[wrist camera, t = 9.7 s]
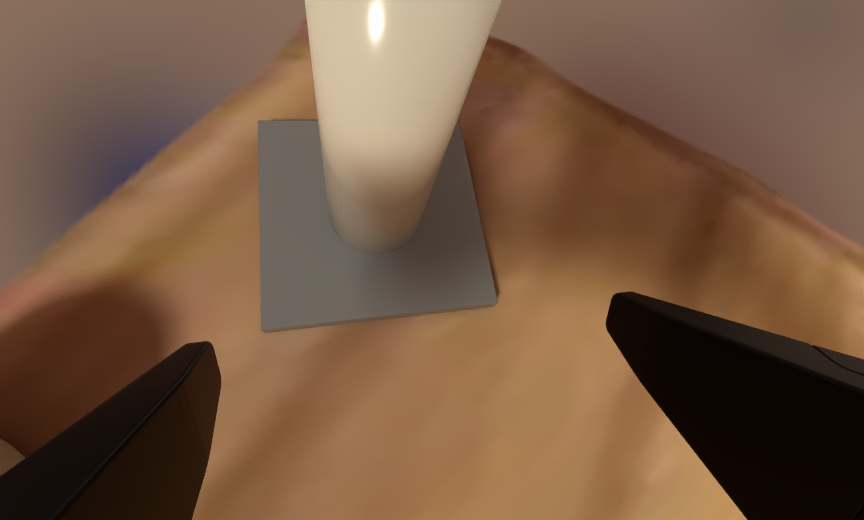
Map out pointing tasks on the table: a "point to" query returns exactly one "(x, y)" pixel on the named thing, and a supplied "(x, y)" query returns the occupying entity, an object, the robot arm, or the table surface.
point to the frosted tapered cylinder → (389, 105)
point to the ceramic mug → (8, 456)
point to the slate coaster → (350, 268)
